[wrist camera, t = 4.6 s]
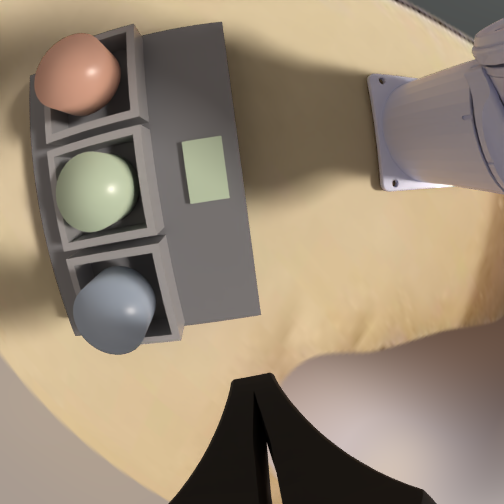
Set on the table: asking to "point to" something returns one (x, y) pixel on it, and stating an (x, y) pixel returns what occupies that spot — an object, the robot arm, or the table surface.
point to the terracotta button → (77, 75)
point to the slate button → (115, 310)
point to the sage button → (96, 190)
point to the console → (158, 181)
